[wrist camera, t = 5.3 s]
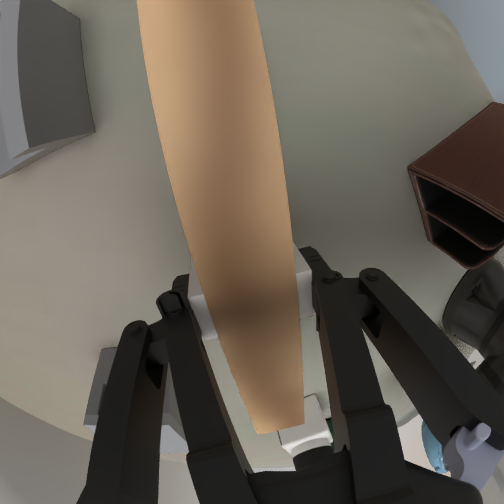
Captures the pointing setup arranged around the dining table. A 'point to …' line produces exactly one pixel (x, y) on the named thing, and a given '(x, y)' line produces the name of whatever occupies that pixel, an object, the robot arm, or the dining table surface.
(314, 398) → the medicine bottle
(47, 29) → the frame
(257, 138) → the slat
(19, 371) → the dining table surface
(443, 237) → the letter holder
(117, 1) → the dining table surface
